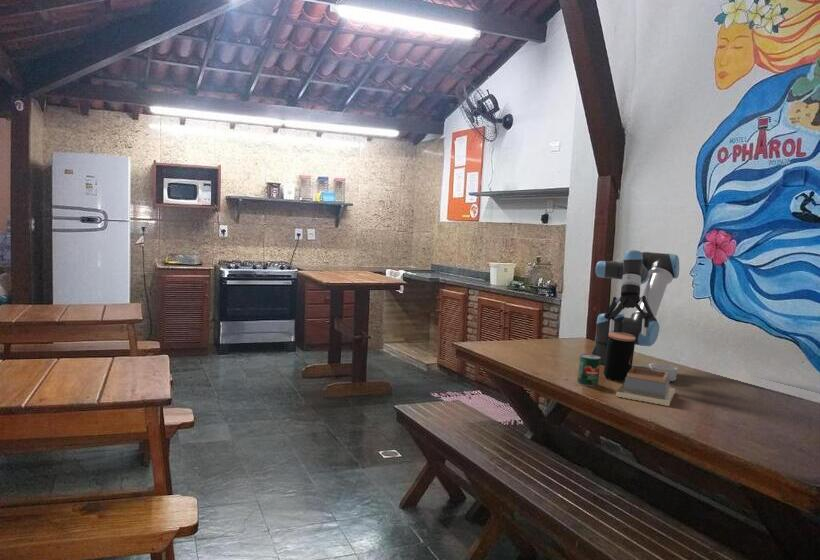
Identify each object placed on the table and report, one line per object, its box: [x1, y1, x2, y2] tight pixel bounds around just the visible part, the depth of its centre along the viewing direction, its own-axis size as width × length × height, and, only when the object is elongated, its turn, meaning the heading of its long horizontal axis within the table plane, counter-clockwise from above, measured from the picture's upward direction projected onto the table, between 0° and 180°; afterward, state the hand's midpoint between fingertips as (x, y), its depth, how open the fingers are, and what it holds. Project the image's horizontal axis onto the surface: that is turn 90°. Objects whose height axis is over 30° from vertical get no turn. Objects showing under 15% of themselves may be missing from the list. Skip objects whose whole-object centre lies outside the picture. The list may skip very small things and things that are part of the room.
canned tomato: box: [576, 353, 601, 387], centre depth 237 cm, size 8×8×11 cm
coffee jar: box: [603, 332, 636, 382], centre depth 248 cm, size 11×11×18 cm
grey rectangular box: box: [615, 367, 676, 407], centre depth 225 cm, size 22×18×8 cm
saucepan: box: [632, 363, 679, 382], centre depth 253 cm, size 12×20×6 cm, turn 102°
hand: (627, 335), depth 247 cm, fingers open, 13 cm apart
